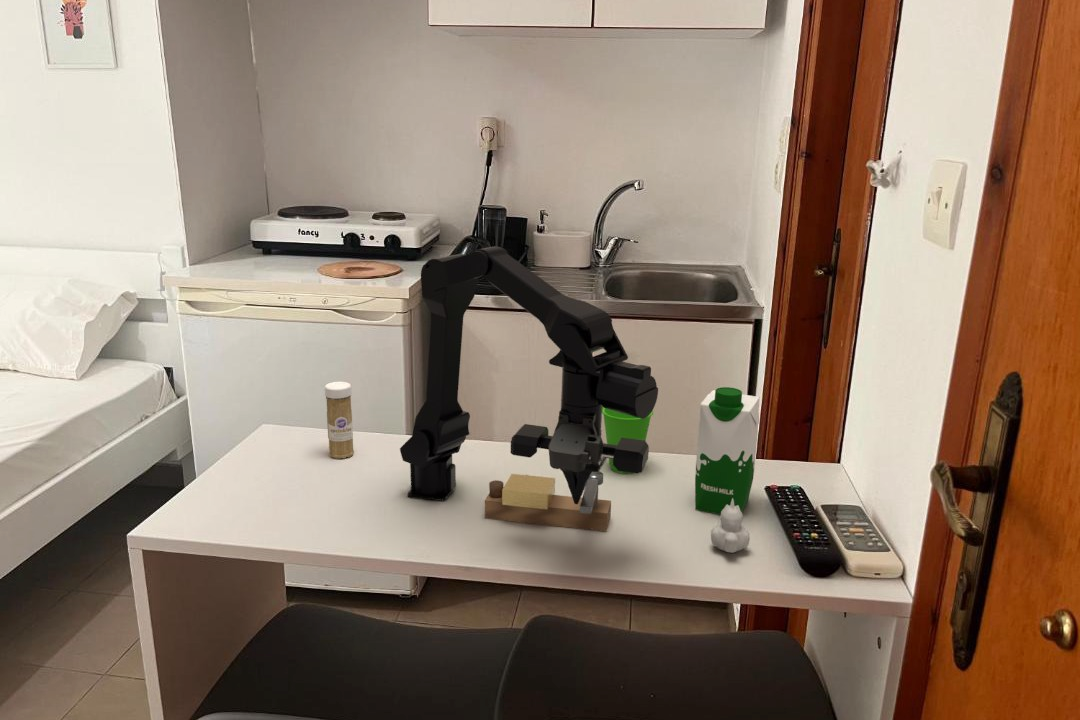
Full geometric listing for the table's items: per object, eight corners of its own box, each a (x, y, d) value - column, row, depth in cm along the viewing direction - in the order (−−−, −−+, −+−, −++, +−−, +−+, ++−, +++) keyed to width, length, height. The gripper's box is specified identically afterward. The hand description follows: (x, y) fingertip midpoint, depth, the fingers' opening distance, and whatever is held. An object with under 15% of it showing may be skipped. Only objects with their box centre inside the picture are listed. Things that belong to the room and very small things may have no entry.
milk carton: (688, 511, 135) (696, 391, 129) (702, 489, 143) (710, 375, 137) (743, 522, 131) (754, 400, 125) (755, 499, 139) (766, 383, 133)
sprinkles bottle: (334, 461, 152) (330, 390, 148) (325, 453, 155) (320, 383, 151) (358, 456, 154) (355, 385, 150) (348, 448, 158) (344, 379, 154)
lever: (595, 514, 118) (595, 506, 117) (575, 513, 118) (575, 505, 118) (603, 478, 129) (604, 471, 129) (585, 477, 130) (585, 469, 130)
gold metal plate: (502, 504, 129) (502, 489, 128) (511, 488, 135) (511, 473, 134) (547, 509, 128) (547, 494, 127) (554, 492, 133) (555, 478, 133)
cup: (648, 481, 145) (651, 420, 142) (595, 476, 147) (597, 416, 144) (652, 460, 154) (655, 403, 151) (602, 456, 156) (604, 399, 152)
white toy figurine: (746, 541, 125) (751, 492, 123) (749, 564, 119) (754, 512, 117) (709, 538, 126) (713, 489, 124) (710, 560, 120) (714, 509, 118)
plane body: (484, 518, 131) (484, 478, 130) (492, 505, 136) (491, 467, 134) (606, 531, 128) (608, 491, 126) (610, 518, 132) (612, 479, 130)
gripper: (498, 410, 112) (496, 517, 116) (638, 429, 107) (630, 540, 111) (524, 385, 122) (521, 484, 127) (652, 401, 117) (645, 504, 122)
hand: (576, 503), depth 121 cm, fingers closed
